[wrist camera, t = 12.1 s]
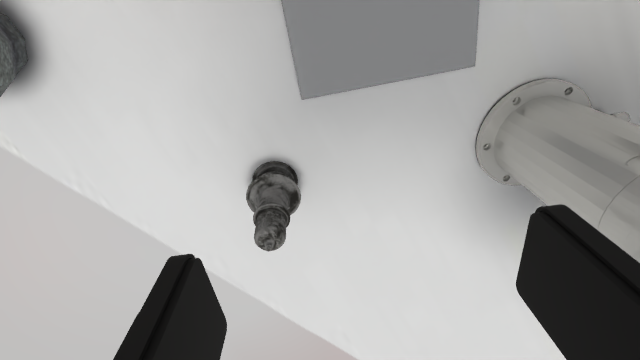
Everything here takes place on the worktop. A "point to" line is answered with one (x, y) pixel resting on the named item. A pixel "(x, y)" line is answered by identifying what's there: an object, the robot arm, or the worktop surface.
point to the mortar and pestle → (10, 52)
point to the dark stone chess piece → (273, 203)
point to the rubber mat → (377, 41)
